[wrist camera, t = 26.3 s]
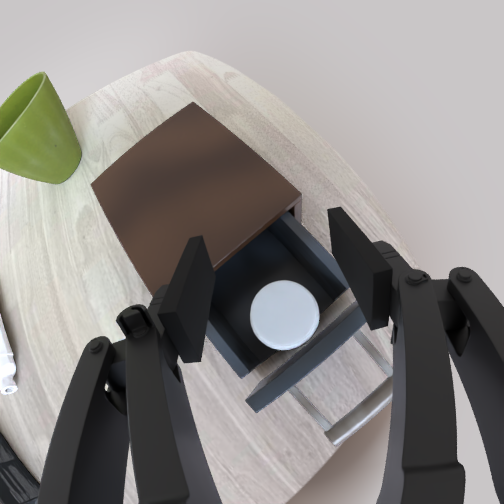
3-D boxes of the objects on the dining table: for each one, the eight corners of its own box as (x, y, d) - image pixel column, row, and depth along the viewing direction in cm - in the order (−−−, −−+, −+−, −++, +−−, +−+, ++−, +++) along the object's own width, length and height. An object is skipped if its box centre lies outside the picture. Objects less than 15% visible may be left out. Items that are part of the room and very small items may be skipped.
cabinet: (301, 239, 28) (302, 193, 19) (204, 320, 27) (161, 311, 18) (217, 155, 33) (193, 101, 24) (136, 221, 32) (89, 184, 23)
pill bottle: (284, 358, 23) (279, 369, 15) (249, 318, 25) (227, 310, 17) (324, 321, 24) (339, 314, 16) (288, 283, 25) (285, 258, 17)
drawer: (401, 358, 22) (439, 363, 15) (309, 437, 22) (314, 473, 14) (268, 211, 29) (259, 169, 21) (182, 283, 28) (144, 263, 20)
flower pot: (85, 118, 41) (38, 64, 26) (113, 150, 37) (52, 81, 21) (32, 176, 40) (-22, 134, 24) (49, 221, 35) (-24, 176, 20)
